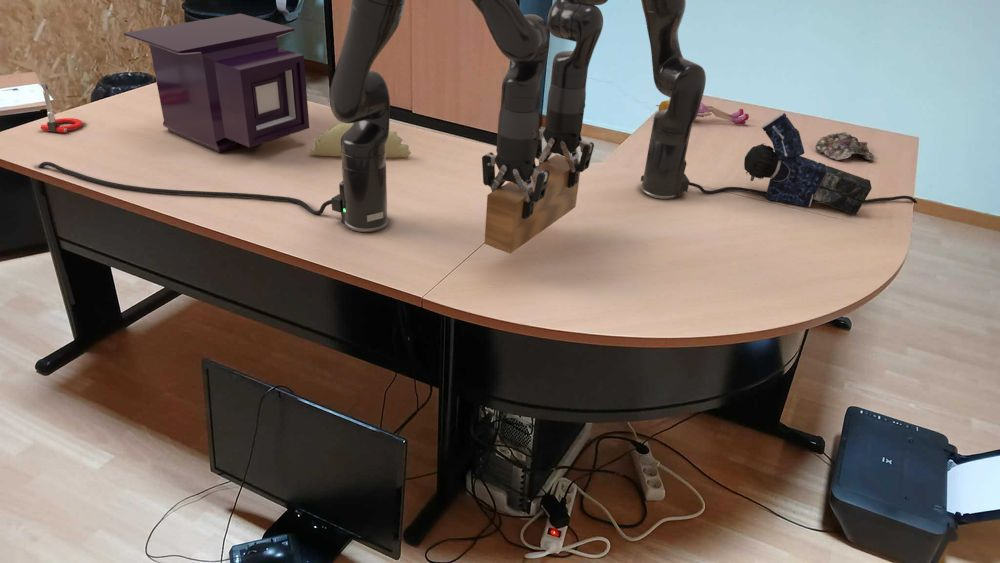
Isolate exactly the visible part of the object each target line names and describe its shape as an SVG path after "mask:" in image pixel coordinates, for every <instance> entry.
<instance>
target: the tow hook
mask: <svg viewBox="0 0 1000 563" xmlns="http://www.w3.org/2000/svg"><path fill="white" fill-rule="evenodd" d="M41 85H42V90H43V91H42V94H43V99H44V102H45V107H46V111H47V113H46V114H47V119H48V121H47V122H46V124H41V125H40V129H41V130H42V131H49V132H52V133H64V134H65V133H68V131H70V130H75V129H78V128H81V127H82V126H83V121H82V120H81V119H80V118H79V119H78V118H75V117H74V118H73V117H65V118H56V116H55V112H54V111H53V107H52V101H51V98H50V93H49V91H48V88H47V84H46V82H41ZM64 123H71V124H70V125H61V126H60V124H64Z"/></svg>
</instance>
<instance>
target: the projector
mask: <svg viewBox="0 0 1000 563" xmlns="http://www.w3.org/2000/svg"><path fill="white" fill-rule="evenodd" d="M294 31H295V28H294V27H292V26H287V25H283V24H279V23H276V22H272V21H269V20H264V19H262V18H259V17H256V16H255V17H254V16H252V15H247V14H244V13H235V14H230V15H224V16H217V17H212V18H205V19H200V20H194V21H188V22H181V23H175V24H169V25H163V26H157V27H151V28H146V29H145V28H144V29H139V30H134V31H128V32H123V36H125V37H127V38H130V39H133V40H136V41H138V42H142V43H145V44H148V45H149V50H150V54H151V60H152V66H153V71H154V75H155V76H154V77H155V82H156V87H157V92H158V97H159V102H160V107H161V113H162V118H163V122H162V126H163V127H165V128H166V129H167V131H168V132H170V133H172V134H175V135H177V136H179V137H182V138H184V139H187V140H189V141H191V142H193V143H196V144H197V145H200V146H203V147H205V148H207V149H209V150H212V151H215V152H217V153H219V154H220V153H224V152H227V151H229V150H233V149H235V148H237V144H240V145H242V146H245V147H247V148H249V149H250V148H253V147H256V146H259V145H262V144H266V143H269V142H271V141H275V140H278V139H281V138H285V137H287V136H289V135H293V134H296V133H300V132H302V131H305V130H308V129H310V118H309V105H308V94H307V93H308V92H307V80H306V79H307V78H306V68H305V56H304V54H303V53H302V54H301V53H297V52H296V51H295V52H294V51H291V50H288V49H285V48H282V47H279V44H278V40H277V38H280V37H282V36H286V35H287V34H291V33H292V32H294Z"/></svg>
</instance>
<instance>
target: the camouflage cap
mask: <svg viewBox="0 0 1000 563" xmlns="http://www.w3.org/2000/svg"><path fill="white" fill-rule="evenodd" d="M815 150H816V151H817V152H818V153H824V155H825V156H827V157H828V158H830V159H832V160H835V161H839V160H840V161H841V160H844V159H848V158H851V157H852V155H853V154H854V155H857V154H859V155H860V156H861V158H863V159H865V160H866V161H871V162H874V160H875V159H874V158H875V155H874V154H873V153H872V152H871V151H870V149H869V147H868V142H867V141H859V139H858V137H855V136H853V135H852V134H851V133H849V132H848V131H846V132H844V131H843V132H836V133H830V134H827V135H826V136H822V137H820V138H819V140H818V141H817V142H816V144H815ZM873 157H874V158H873Z"/></svg>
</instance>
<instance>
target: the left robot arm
mask: <svg viewBox="0 0 1000 563" xmlns="http://www.w3.org/2000/svg"><path fill="white" fill-rule="evenodd" d="M471 2H472V3H473V5H474V6H475V7H476V9H477V10H478V11H479V12H480V14H481V15H482V17H483V19H484V22H485V24H486V27H487V29H488V31H489V33H490V35H491V37H492V39H493V41H494V43H495V45H496V46H497V48H498V49H499V51H500V52H501V53H502V54H503V56H504V57H505V58H507V59H508V61H509V66H508V69H507V71H506V73H505V75H504V77H503V79H502V85H501V95H500V96H501V97H500V107H499V111H498V112H499V113H498V120H497V135H496V149H495V150H496V155H495V154H494V153H493V152H488V153H486V154H485V155H482V156H481V164H482V165H481V166H482V183H483V185H484V186H488V187H489V188H490V190H491V192H493V191H495V190H497V189H498V188H500V187H502V186H503V185H505V184H506V182H507V183H509V182H513V183H514V184H517V185H518V187H519V190H520V191H521V192H522V194H523V197H524V200H525V201H524V202H523V212H522V218H523V219H527V218H528V217H530V216H531V215H532V214H533V209H534V202H538V201H539V200H540V199H542V198H544V196H545V192H546V188H547V183H548V179H549V175H550V172H549V171H548V170H545V171H542V170H540V169H538V168H536V166H537V164H536V159H537V158H536V153H537V143H538V133H539V127H540V120H541V118H540V106H541V97H542V96H541V94H542V81H543V77H544V73H545V69H546V66H547V60H548V57H549V51H550V47H551V46H550V44H551V33H550V31H549V28H548V25H547V21H545V20H544V19H543V18H542V17H541V16H539V15H537V14H533V13H529V14H523V11H522V10H521V7H520V6H519V4H518V3H517V0H471ZM405 4H406V0H351V3H350V9H349V17H348V20H347V25H346V29H345V34H344V37H343V41H342V42H343V43H342V47H341V50H340V54H339V56H338V60H337V62H336V63H337V64H336V66H335V70H334V73H333V76H332V78H331V82H330V86H329V93H328V94H329V96H328V97H329V98H328V99H329V106H330V110H331V112H332V114H333V116H334V117H335V119H336V120H337V121H339V122H340V123H341V122H343V123H354V124H353V125H352V127H351V128H350V129H349V130H348V131H347V132H346V133H344V134H343V136H342V138H341V156H340V157H341V170H342V171H341V172H342V173H341V174H342V181H340V182H339V184H338V186H339V187H338V190H339V193H338V194H337V195H335V196H333V197H331V199H329V200H326V201H325V202H323V203H321V205H320V208H319V210H314V209H313V208H311V206H309V205H308V204H307V203H306V202H304V201H303V200H301V199H298V198H294V197H289V196H281V195H271V194H270V195H268V194H259V193H244V192H229V191H228V192H226V191H207V190H206V191H203V190H183V189H167V188H154V187H145V186H136V185H130V184H122V183H118V182H113V181H108V180H104V179H99V178H96V177H93V176H89V175H85V174H82V173H79V172H76V171H74V170H71V169H67V168H65V167H62V166H61V165H58V164H56V163H53V162H51V161H42V162H41V163H39V165H38V166H37V168H38V169H43V168H45V167H51V168H53V169H56V170H57V171H60V172H61V173H65V174H68V175H70V176H74V177H76V178H80V179H83V180H84V181H85V180H86V181H89V182H92V183H96V184H100V185H104V186H108V187H113V188H119V189H125V190H131V191H139V192H147V193H157V194H170V195H189V196H190V195H191V196H211V197H212V196H213V197H234V198H249V199H260V200H261V199H262V200H273V201H274V200H275V201H283V202H290V203H296V204H298V205H300V206H302V207H303V208H304V209H305V210H306V211H307V212H308V213H311V214H313V215H315V216H319V215H322V214H323V213H324V212H325V209H326V207H328V206H330V205H331V211H334V212H336V213H340V216H341V217H340V222H341V223H342V224H344V225H345V227H346V228H348V229H349V230H351V231H354V232H357V233H358V232H359V233H372V232H377V231H380V230H382V229H384V228H386V227H387V226H388V223H389V218H388V190H387V189H388V188H387V186H388V185H387V184H388V183H387V157H386V142H387V139H388V136H389V130H390V117H391V116H390V115H391V114H390V113H391V97H390V91H389V87H388V83H387V82H386V79H385V78H384V77H383V76H382V75H381V74H380V73H379V72H377V71H375V70H371V69H372V65H373V63H374V62H375V60H376V59H377V58H378V56H379V55H380V54H381V52H382V51H383V49H385V46H386V45H387V44H388V42H390V40H391V39H392V38H393V35H394V34H395V32H396V31H397V29H398V27H399V25H400V22H401V19H402V15H403V12H404V11H403V10H404V8H405ZM495 165H496V166H495ZM496 167H497V170H498V172H497V174H496ZM533 174H534V175H535V181H536V185H535V190H534V182H533V179H532V175H533ZM524 182H526V184H524ZM39 195H40V200H41V205H42V209H43V210H42V211H43V214H44V218H45V222H46V225H47V226H46V227H47V229H48V232H49V236H50V240H51V243H52V245H53V249H54V252H55V255H56V259H57V262H58V266H59V268H60V272H61V275H62V277H63V280H64V281H63V282H64V284H65V287H66V290H67V294H68V298H69V302H70V304H71V305H76V301H75V297H74V294H73V292H72V288H71V284H70V281H69V277H68V275H67V271H66V268H65V264H64V261H63V259H62V255H61V252H60V249H59V246H58V243H57V238H56V236H55V233H54V229H53V225H52V222H51V218H50V213H49V209H48V205H47V204H48V203H47V199H46V196H45V195H43V194H42V193H41V194H39Z"/></svg>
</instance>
